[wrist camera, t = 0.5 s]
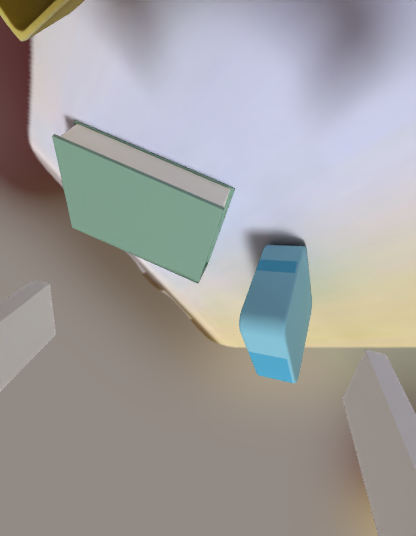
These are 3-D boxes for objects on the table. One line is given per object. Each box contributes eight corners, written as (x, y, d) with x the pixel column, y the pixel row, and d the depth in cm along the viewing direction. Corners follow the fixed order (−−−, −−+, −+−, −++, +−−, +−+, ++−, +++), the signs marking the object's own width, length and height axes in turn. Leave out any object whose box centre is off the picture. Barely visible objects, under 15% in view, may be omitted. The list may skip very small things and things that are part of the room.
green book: (76, 118, 34) (52, 136, 32) (235, 187, 33) (223, 210, 31) (89, 209, 45) (72, 227, 43) (208, 262, 44) (198, 283, 42)
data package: (266, 238, 37) (235, 323, 30) (306, 239, 35) (283, 330, 28) (280, 301, 45) (258, 379, 38) (312, 305, 43) (296, 388, 36)
